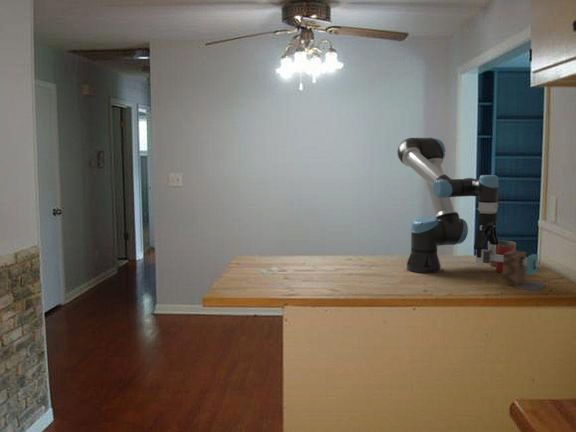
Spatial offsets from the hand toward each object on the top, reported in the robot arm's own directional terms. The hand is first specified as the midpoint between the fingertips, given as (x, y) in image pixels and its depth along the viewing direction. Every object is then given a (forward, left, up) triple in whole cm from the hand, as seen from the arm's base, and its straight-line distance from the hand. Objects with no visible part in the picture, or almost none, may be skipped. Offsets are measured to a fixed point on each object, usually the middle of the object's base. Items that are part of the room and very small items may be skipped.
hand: (485, 262), depth 249 cm
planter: (-5, +32, -8) cm, 33 cm away
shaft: (+9, 0, 0) cm, 9 cm away
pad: (+19, 0, -8) cm, 21 cm away
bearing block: (+12, 0, -8) cm, 14 cm away
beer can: (+1, +19, -8) cm, 21 cm away
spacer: (+19, 0, -2) cm, 19 cm away
